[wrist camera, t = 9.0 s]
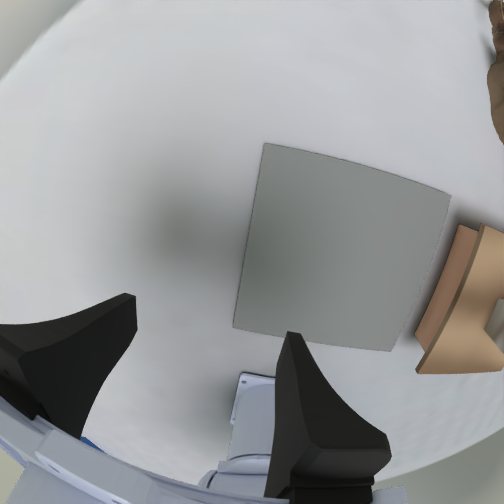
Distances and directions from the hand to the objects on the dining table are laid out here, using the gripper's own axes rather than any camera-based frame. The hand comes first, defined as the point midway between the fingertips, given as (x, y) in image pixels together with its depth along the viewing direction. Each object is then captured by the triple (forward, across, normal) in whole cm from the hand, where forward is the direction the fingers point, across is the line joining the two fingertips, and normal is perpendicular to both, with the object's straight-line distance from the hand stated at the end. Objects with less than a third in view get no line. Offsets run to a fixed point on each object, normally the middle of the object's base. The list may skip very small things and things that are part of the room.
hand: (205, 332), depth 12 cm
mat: (+10, -8, -1) cm, 13 cm away
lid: (+6, -23, -1) cm, 24 cm away
